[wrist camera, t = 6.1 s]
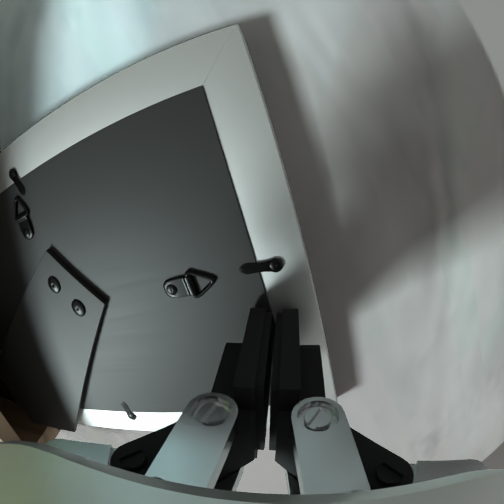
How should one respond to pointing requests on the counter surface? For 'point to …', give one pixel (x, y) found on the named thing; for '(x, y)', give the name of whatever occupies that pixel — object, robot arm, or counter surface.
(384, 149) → the counter surface
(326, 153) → the counter surface
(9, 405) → the walnut shelf
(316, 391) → the robot arm
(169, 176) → the picture frame
